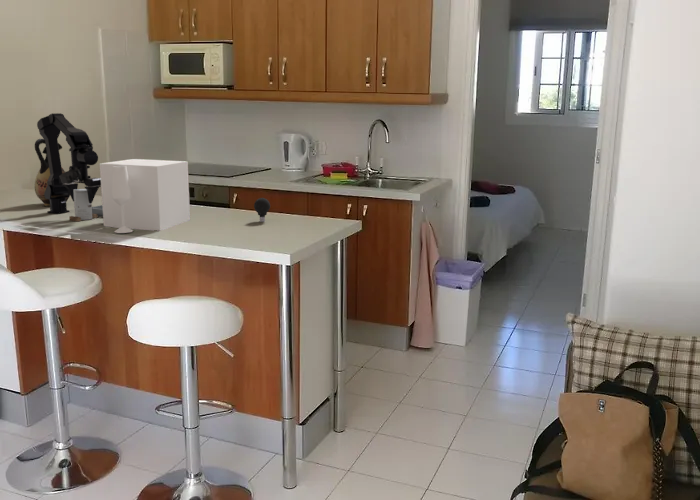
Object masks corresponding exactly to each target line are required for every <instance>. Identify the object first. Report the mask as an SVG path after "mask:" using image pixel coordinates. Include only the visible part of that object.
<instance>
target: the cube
mask: <svg viewBox="0 0 700 500" xmlns="http://www.w3.org/2000/svg"><path fill="white" fill-rule="evenodd" d="M113 166H127V173H128V179H129V186H130V192H131V198H130V200H129V201H128V202H127V203H126V204H125V205H124V216H125V226H126V227H128V228H129V229H131V230H142V231H144V230H145V231H154V230H157V231H158V232H162V231H164V230H167V229H170V228H173V227H175V225H176V226H178V225H181V224H184V223H186V222H189V221H191V215H190V214H191V213H190V212H191V210H190V185H189V184H190V182H189V162H188V160H186V161H184V160H163V159H143V158H132V159H131V158H130V159H124V160H116V161H109V162H108V161H107V162H102V163H101V162H100V163H99V173H100V175H99V176H100V177H99V178H101V185H100V186H101V187H100V188H101V191H100V192H101V203H102V204H101V205H102V206H103V217H102V218H103V219H102V221H103V227H110V228H113V229H114V228H117V229H119V228H120V227H121V226H122V222H121V206H120V205H119V204H117V203H116V202H115V201H114V200H113V198H112V178H113ZM161 230H162V231H161ZM157 231H156V232H157Z"/></svg>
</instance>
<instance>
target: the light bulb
mask: <svg viewBox="0 0 700 500" xmlns="http://www.w3.org/2000/svg"><path fill="white" fill-rule="evenodd" d="M253 207H254V211H255V212H256V213H257V216H259V222H261V223H263V222H264V223H265V222H266V216H267V214H268V212H270V209H271V203H270V201H269V200H268V199H267V198H264V197H259V198H258V199H256V200H255V201H254V204H253Z"/></svg>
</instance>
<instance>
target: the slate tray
mask: <svg viewBox="0 0 700 500" xmlns="http://www.w3.org/2000/svg"><path fill="white" fill-rule="evenodd" d="M92 214H97V217H102V218H103V206H102V204H101V205H95V206H92Z"/></svg>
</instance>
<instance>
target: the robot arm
mask: <svg viewBox="0 0 700 500" xmlns="http://www.w3.org/2000/svg"><path fill="white" fill-rule="evenodd" d="M36 127H37V129H38V132H39V135H40V136H41V137H42V139H44V140H45V143H46V144H45V147H46V150H47V157H48V163H49V170H50V176H49V179H48V181H47V188H46V190H45V193H44V195H45V198H46V199H49V202H50V206H49V210H48V211H47V213H49V214H55V215H56V214H63V213H69V212H70V210H67V208H68V207H67V202H66V200H65V198H68V199H70V198H71V200H72V202H74V192H73V190H74V189H78V187H79V184H84V189H86V190H87V193H88V200H89V203H93V202H94V199H95V197H96V194H97V192H98V191H99V189H100V188H101V177H91V175H89V170H88V169H91V166H94V165H96V164H97V163H98V162H99V155H98V154H97V152H96V151H94V150H93V149H94V146H93V143H92V141H91V139H90V137H89V135H88V134H87V132H86V131H85V130H83V129H82V128H81V129H80V128H77V127H75V126H74V124H72V123H71V122H70V121H69V120H68V119H67V117H65V115H64V114H63V113H59V112H57V113H56V112H55V113H54V112H53V113H50V114H48V115H46V116H43V117H41V118H40V119H39V120H38V121H37V123H36ZM61 133H62V134H63V135H64V136H65V141H66V143H67V144H68V146H69V149H68V151H69V152H70V158H71V159H70V160H71V165H70V166H69V167H68V169H69V170H67V171H65V173H62V168H63V166H62V161H61V154H60V150H59V147H58V143H59V142H58V139H59V137H60V134H61ZM51 195H52V196H51ZM55 195H58V196H55ZM69 196H70V197H69Z"/></svg>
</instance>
